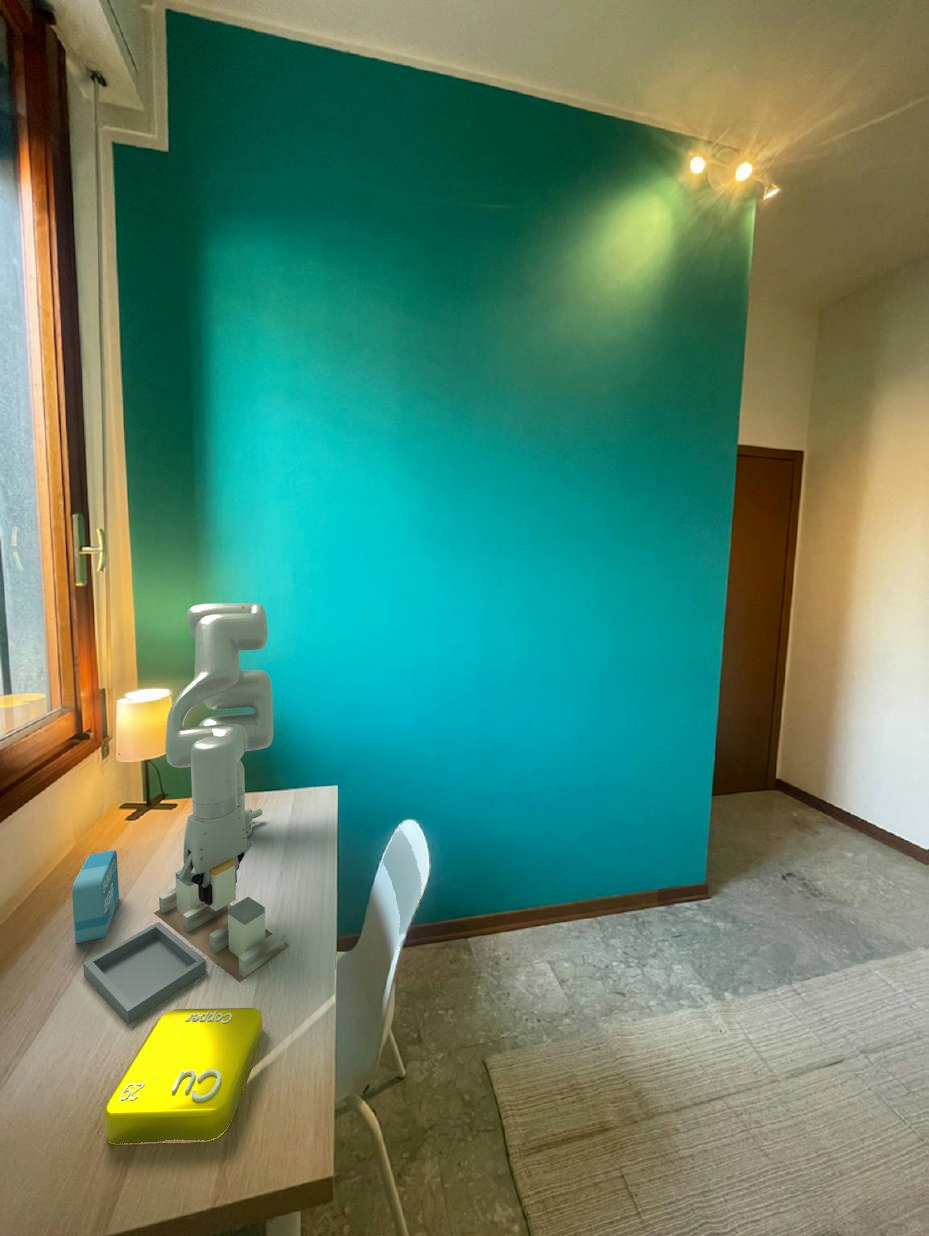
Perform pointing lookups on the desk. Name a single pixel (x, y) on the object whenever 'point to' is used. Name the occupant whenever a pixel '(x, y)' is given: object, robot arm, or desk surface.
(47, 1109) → the desk surface
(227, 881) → the block
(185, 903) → the block
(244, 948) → the block
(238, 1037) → the element tile
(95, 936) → the data package
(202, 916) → the fuse board
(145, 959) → the tray
